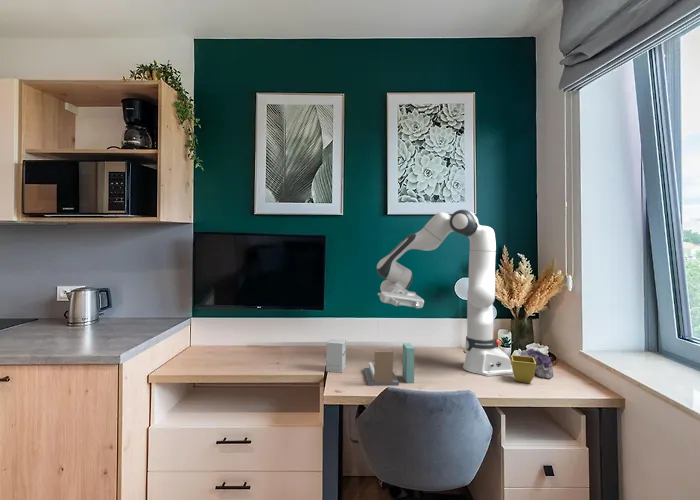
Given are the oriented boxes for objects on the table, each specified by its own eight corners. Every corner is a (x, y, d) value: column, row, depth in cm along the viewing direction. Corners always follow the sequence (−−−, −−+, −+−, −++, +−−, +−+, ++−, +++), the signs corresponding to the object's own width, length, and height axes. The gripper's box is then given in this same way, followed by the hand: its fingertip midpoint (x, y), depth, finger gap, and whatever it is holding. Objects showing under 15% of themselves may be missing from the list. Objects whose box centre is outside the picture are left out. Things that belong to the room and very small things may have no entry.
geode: (565, 380, 161) (562, 356, 160) (537, 383, 161) (534, 360, 160) (541, 363, 181) (539, 342, 180) (516, 366, 181) (514, 345, 181)
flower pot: (535, 385, 153) (536, 363, 153) (512, 383, 156) (512, 360, 156) (533, 378, 162) (533, 357, 162) (510, 376, 165) (510, 354, 164)
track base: (390, 370, 170) (391, 340, 170) (398, 385, 152) (399, 351, 152) (363, 370, 169) (363, 340, 169) (368, 385, 151) (368, 352, 151)
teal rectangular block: (409, 376, 163) (410, 343, 163) (414, 383, 155) (414, 348, 155) (402, 376, 162) (402, 343, 162) (406, 383, 155) (406, 348, 154)
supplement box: (342, 373, 166) (342, 343, 166) (325, 371, 168) (325, 342, 167) (345, 367, 173) (346, 339, 173) (329, 366, 175) (330, 338, 175)
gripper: (377, 286, 179) (387, 295, 166) (418, 292, 184) (430, 301, 171) (374, 299, 180) (383, 309, 167) (415, 305, 185) (426, 315, 172)
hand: (407, 305), depth 169 cm, fingers open, 8 cm apart
